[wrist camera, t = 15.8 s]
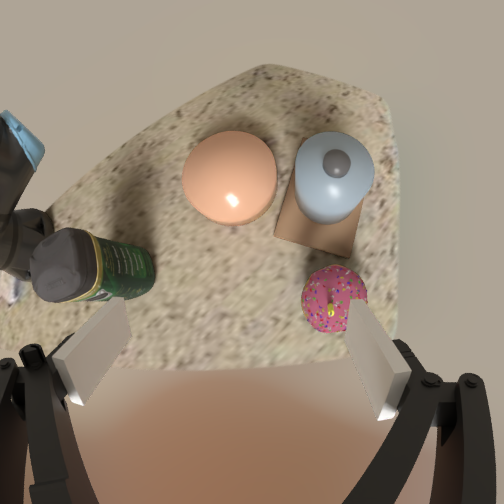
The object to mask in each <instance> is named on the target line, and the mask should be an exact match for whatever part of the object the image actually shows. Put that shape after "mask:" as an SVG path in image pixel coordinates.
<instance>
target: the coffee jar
mask: <svg viewBox="0 0 504 504" xmlns="http://www.w3.org/2000/svg"><path fill="white" fill-rule="evenodd" d="M30 272H31V280H32V285H33V289H34V291H35V292H36V293H37V295H38V296H39V297H40V298H42V299H43V300H45V301H48V302H54V303H64V302H78V301H109V300H110V299H111V298H112V297H124V300H129V299H132V298H136V297H138V296H141V295H143V294H145V293H147V292H148V291H149V290H150V289H151V288H152V286H153V284H154V280H155V273H154V268H153V263H152V260H151V257H150V255H149V253H148V252H147V251H146V250H145V249H144V248H142V247H138V246H134V245H130V244H124V243H119V242H115V241H111V240H107V239H103V238H99V237H96V236H93V235H92V234H91V233H90V232H88V231H86V230H81V229H75V228H68V227H67V228H63V229H61V230H59V231H57V232H55V233H53V234H51V235H50V236H48V237H47V238H45V239H44V240H42V241H41V242H40V243H39V244H38V246H37V247H36V248H35V250H34V252H33V254H32V256H31V257H30Z"/></svg>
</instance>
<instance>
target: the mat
mask: <svg viewBox="0 0 504 504" xmlns="http://www.w3.org/2000/svg"><path fill="white" fill-rule="evenodd" d="M306 140H307V138H304V137H303V139H302V142H301V145H300V147H301V146H302V144H303V143H304V142H305V141H306ZM363 199H364V197H363V198H362V200H361V201H360V202H359V204H358V205H357V206H356V207H355V209H354V210H353V211H352V213H351V214H350V215H349V216H348V217H347V218H346V219H344V220H343V221H341V222H339V223H336V224H330V225H326V224H319V223H316V222H314V221H312V220H310V219H309V218H307V217H306V216H305V215H304V214H303V213H302V212H301V211H300V209H299V207H298V205H297V203H296V199H295V166H294V169H293V173H292V176H291V179H290V183H289V186H288V189H287V193H286V196H285V200H284V203H283V206H282V209H281V213H280V216H279V219H278V223H277V226H276V229H275V232H274V237H277V238H281V239H284V240H287V241H291V242H294V243H298V244H301V245H304V246H308V247H311V248H314V249H318V250H321V251H324V252H328V253H331V254H334V255H337V256H341V257H344V258H347V259H348V258H350V254H351V250H352V246H353V242H354V238H355V234H356V230H357V226H358V221H359V217H360V213H361V208H362V204H363Z"/></svg>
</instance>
